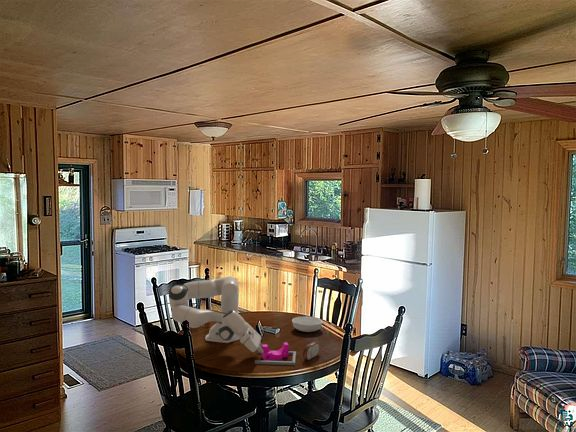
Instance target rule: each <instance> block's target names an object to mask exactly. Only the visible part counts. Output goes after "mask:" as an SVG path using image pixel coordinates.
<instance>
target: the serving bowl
mask: <svg viewBox="0 0 576 432" xmlns="http://www.w3.org/2000/svg"><path fill="white" fill-rule="evenodd" d="M291 322H292V326H293V327H294V328H295V329H296V330H297V331H298V332H299V331H300V332H304V333H312V332H316V331H318V330H320V328H322V326H323V320H322V319H320V318H318V317H315V316H307V315H306V316H297V317H294V318H292V319H291Z"/></svg>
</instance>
